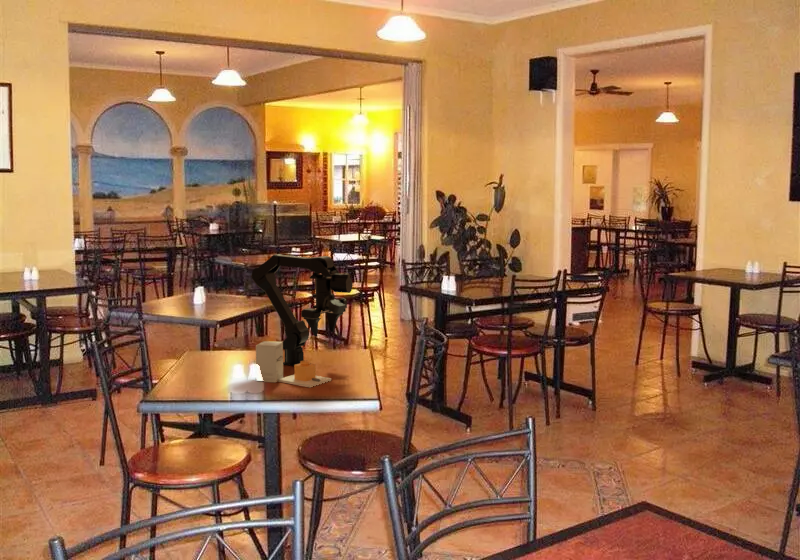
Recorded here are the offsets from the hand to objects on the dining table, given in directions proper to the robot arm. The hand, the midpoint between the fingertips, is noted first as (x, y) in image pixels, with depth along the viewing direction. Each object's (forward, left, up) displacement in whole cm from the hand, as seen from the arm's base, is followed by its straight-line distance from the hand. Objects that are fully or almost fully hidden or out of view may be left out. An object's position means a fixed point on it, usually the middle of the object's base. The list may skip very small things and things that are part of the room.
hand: (324, 334), depth 298 cm
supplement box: (-3, -25, -12) cm, 28 cm away
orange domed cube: (+8, -20, -11) cm, 24 cm away
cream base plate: (+8, -20, -12) cm, 25 cm away
